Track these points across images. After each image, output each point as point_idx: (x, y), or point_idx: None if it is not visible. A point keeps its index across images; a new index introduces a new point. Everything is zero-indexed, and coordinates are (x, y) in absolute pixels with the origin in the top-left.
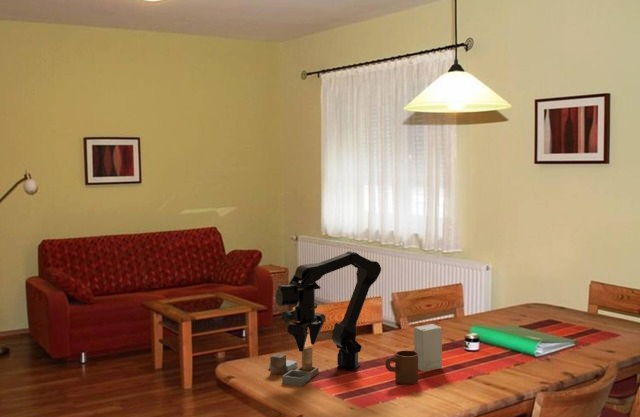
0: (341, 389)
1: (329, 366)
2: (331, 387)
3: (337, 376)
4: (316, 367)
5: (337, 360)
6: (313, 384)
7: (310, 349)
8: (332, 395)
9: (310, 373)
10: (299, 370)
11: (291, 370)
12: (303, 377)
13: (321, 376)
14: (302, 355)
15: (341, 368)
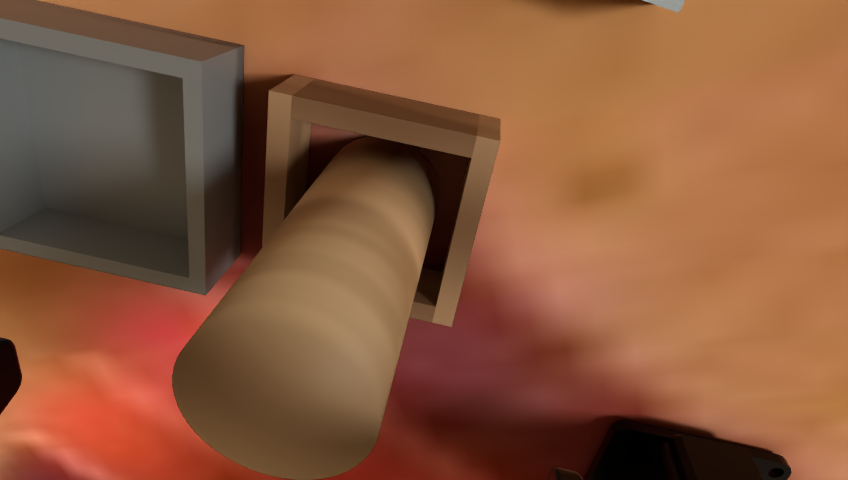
0: (140, 471)
1: (692, 353)
2: (144, 417)
3: (400, 434)
4: (440, 308)
5: (692, 471)
6: (141, 296)
7: (257, 459)
8: (10, 434)
9: (208, 289)
10: (277, 148)
11: (176, 64)
12: (38, 255)
13: None
14: (242, 274)
15: (598, 455)
